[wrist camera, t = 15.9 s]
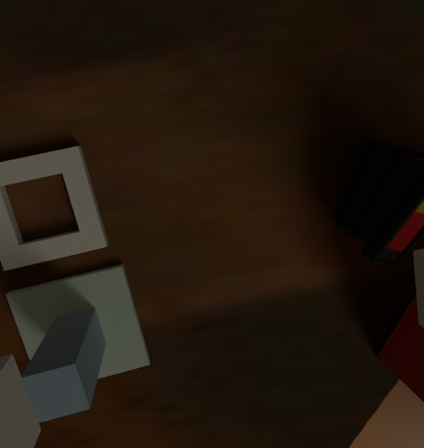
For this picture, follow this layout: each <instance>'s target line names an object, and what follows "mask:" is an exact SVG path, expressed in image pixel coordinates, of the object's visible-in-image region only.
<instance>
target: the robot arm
mask: <svg viewBox="0 0 424 448" xmlns="http://www.w3.org/2000/svg"><path fill="white" fill-rule="evenodd" d="M413 257H414V270H415V283H416V295H417V308H418V321H419V325H420V326H422V327H423V328H424V249H420V250H416V251H413ZM40 431H41V428H40V425H39V423H38V420H37V418H36V415H35V412H34V410H33V407H32V404H31V402H30V399H29V396H28V394H27V391H26V388H25V386H24V383H23V381H22V378H21V375H20V373H19V370H18V367H17V365H16V362H15V359H14V357H13V354H11V355H7V356H3V357H0V448H34V445H35V443H36V440H37V438H38V436H39V433H40Z"/></svg>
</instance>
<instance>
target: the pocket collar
mask: <svg viewBox="0 0 424 448" xmlns="http://www.w3.org/2000/svg"><path fill="white" fill-rule="evenodd" d="M60 173H62V174H63V177H64V181H65V184H66V187H67V191H68V194H69V197H70V201H71V204H72V207H73V211H74V214H75V217H76V220H77V224H78V227H79V230H75V231H71V232H67V233H62V234H58V235H54V236H49V237H45V238H41V239H36V240H32V241H27V242H23V239H22V236H21V233H20V230H19V227H18V225H17V222H16V219H15V216H14V213H13V210H12V207H11V204H10V201H9V198H8V195H7V192H6V189H5V187H4V185H8V184H13V183H18V182H22V181H27V180H32V179H36V178H41V177H46V176H50V175H55V174H60ZM107 245H108V240H107V236H106V233H105V229H104V226H103V222H102V219H101V215H100V212H99V208H98V205H97V201H96V198H95V194H94V191H93V187H92V184H91V180H90V177H89V173H88V170H87V166H86V163H85V159H84V156H83V152H82V149H81V146H76V147H71V148H67V149H62V150H57V151H52V152H47V153H43V154H38V155H33V156H28V157H23V158H19V159H14V160H9V161H4V162H0V261H1V264H2V266H3V269H4V271H6V270H10V269H14V268H19V267H23V266H27V265H31V264H36V263H40V262H44V261H48V260H52V259H57V258H61V257H65V256H69V255H74V254H78V253H82V252H86V251H91V250H95V249H99V248H103V247H107Z"/></svg>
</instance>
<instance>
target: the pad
mask: <svg viewBox="0 0 424 448" xmlns="http://www.w3.org/2000/svg"><path fill="white" fill-rule="evenodd" d="M6 297H7V300H8V302H9V305H10V308H11V311H12V313H13V316H14V319H15V322H16V324H17V327H18V330H19V332H20V335H21V338H22V341H23V343H24V346H25V349H26V351H27V354H28V357H29V360H30V361H31V359H32V357H33V355H34V354H35V352H36V350H37V349H38V347H39V345H40V344H41V342H42V340H43V338H44V337H45V335H46V333H47V332H48V330H49V328H50V327H51V325H52V323H53V321H54V320H55V319H56V318H60V317H64V316H68V315H72V314H76V313H80V312H84V311H88V310H92V309H96V311H97V314H98V318H99V321H100V324H101V327H102V331H103V334H104V337H105V340H106V347H105V351H104V355H103V359H102V363H101V367H100V371H99V375H98V378H102V377H106V376H109V375H113V374H117V373H121V372H124V371H128V370H132V369H135V368H139V367H143V366H147V365H150V360H149V356H148V352H147V349H146V345H145V342H144V338H143V335H142V331H141V327H140V324H139V320H138V317H137V313H136V309H135V306H134V302H133V299H132V295H131V292H130V288H129V284H128V281H127V277H126V274H125V270H124V266H123V264H121V265H117V266H112V267H108V268H104V269H100V270H96V271H92V272H88V273H83V274H79V275H75V276H71V277H67V278H63V279H59V280H54V281H50V282H46V283H42V284H38V285H34V286H30V287H25V288H21V289H17V290H13V291H9V292H8V293H7V294H6Z"/></svg>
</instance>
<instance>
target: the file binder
mask: <svg viewBox="0 0 424 448" xmlns="http://www.w3.org/2000/svg"><path fill="white" fill-rule="evenodd" d="M377 358H378V359H379V360H381V361H382V362H383V363H384V364H385V365H386V366H387V367H388V368H389V369H390V370H391V371H392V372H393V373H394V374H395V375H396V376H397V377H398V378H399V379H400V380H402V381H403V383H405V384H406V385H407V386H408V387H409V388H410V389H411V390H412V391H413V392H414V393H415V394H416V395H417V396H418V397H419V398H420V399H421V400H422V401H423V402H424V328H423V327H422V326H420V325H419V321H418V308H417V295H416V296H415V297H414V299H413V301H412V302H411V304H410V305H409V307H408V308H407V310H406V311H405V313H404V315H403V316H402V318H401V319H400V321H399V322H398V324H397V325H396V327H395V329H394V330H393V332H392V333H391V335H390V336H389V338H388V339H387V341H386V343H385V344H384V346H383V347H382V349H381V350H380V352H379V354H378V355H377Z"/></svg>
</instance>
